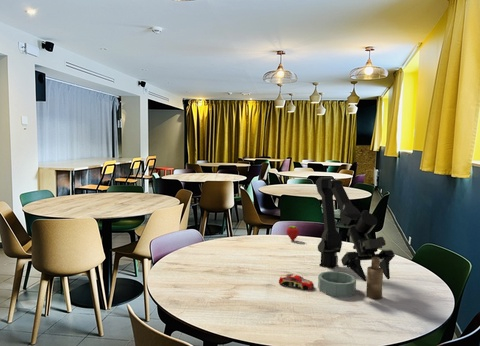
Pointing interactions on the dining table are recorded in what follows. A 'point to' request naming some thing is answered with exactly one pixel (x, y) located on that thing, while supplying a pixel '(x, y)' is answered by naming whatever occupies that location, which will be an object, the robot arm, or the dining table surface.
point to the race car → (296, 282)
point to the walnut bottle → (374, 280)
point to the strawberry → (292, 232)
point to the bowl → (336, 283)
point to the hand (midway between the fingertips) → (377, 279)
